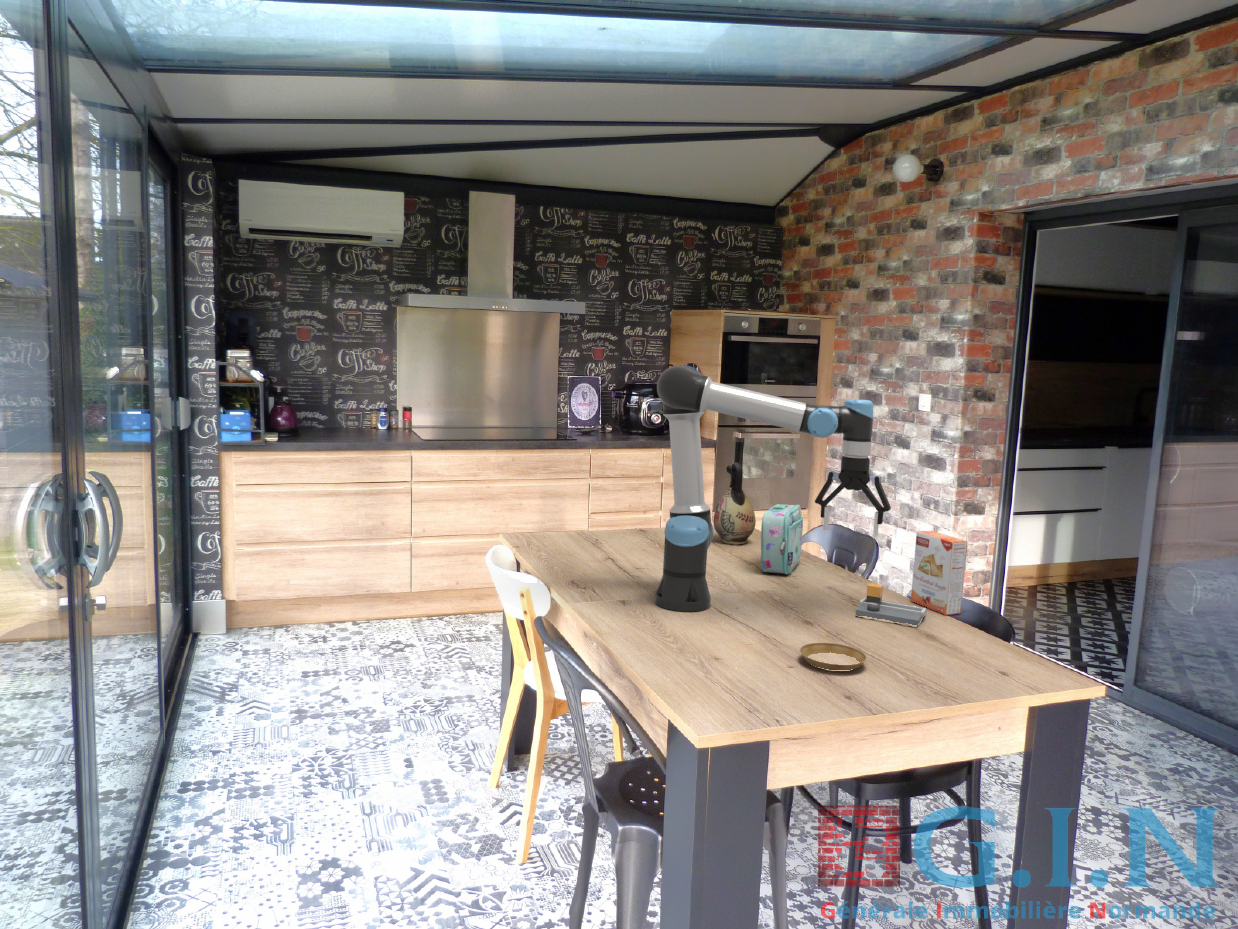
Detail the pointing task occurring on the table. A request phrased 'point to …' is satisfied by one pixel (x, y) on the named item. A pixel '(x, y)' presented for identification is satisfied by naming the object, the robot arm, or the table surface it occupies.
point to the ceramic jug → (734, 511)
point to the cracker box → (939, 572)
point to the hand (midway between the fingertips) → (850, 532)
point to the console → (891, 611)
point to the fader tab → (874, 593)
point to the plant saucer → (833, 648)
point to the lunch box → (781, 538)
